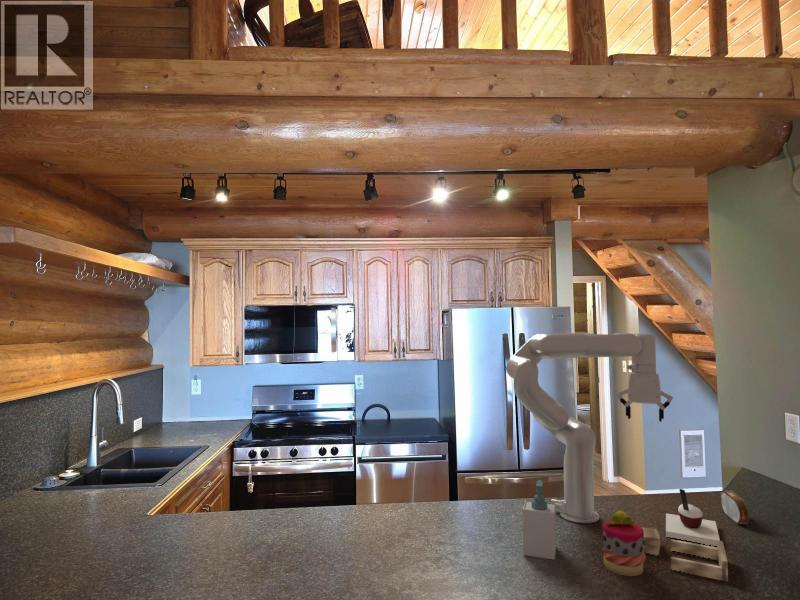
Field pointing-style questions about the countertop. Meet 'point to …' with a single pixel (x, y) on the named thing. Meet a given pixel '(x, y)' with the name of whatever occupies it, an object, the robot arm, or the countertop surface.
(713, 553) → the frame
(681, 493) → the cocoa
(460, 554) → the countertop surface
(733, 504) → the tin
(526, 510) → the soap bottle
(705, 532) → the cutting board
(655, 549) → the offcut lower
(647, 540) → the offcut upper
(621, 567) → the cake
